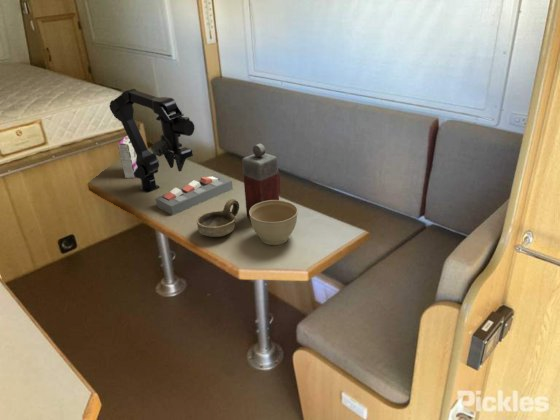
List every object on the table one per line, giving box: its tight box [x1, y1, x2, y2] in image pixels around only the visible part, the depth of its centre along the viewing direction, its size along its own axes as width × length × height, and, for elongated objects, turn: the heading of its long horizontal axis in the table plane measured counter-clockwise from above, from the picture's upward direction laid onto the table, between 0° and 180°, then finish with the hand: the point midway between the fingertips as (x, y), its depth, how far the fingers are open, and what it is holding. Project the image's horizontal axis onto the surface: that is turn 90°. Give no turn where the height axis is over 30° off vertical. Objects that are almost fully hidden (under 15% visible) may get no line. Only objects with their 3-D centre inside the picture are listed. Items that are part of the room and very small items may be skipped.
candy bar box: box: [117, 135, 138, 179], centre depth 214 cm, size 11×5×16 cm, turn 179°
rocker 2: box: [182, 179, 201, 193], centre depth 192 cm, size 4×6×2 cm, turn 136°
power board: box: [155, 173, 233, 216], centre depth 192 cm, size 11×30×4 cm, turn 136°
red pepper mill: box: [241, 143, 282, 218], centre depth 171 cm, size 9×11×28 cm
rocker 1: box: [163, 186, 183, 201], centre depth 187 cm, size 4×6×2 cm, turn 136°
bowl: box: [196, 198, 240, 238], centre depth 166 cm, size 14×18×10 cm
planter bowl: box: [249, 199, 299, 246], centre depth 160 cm, size 16×16×11 cm
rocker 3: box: [199, 176, 218, 184], centre depth 198 cm, size 4×6×2 cm, turn 136°
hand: (175, 169), depth 189 cm, fingers open, 5 cm apart
